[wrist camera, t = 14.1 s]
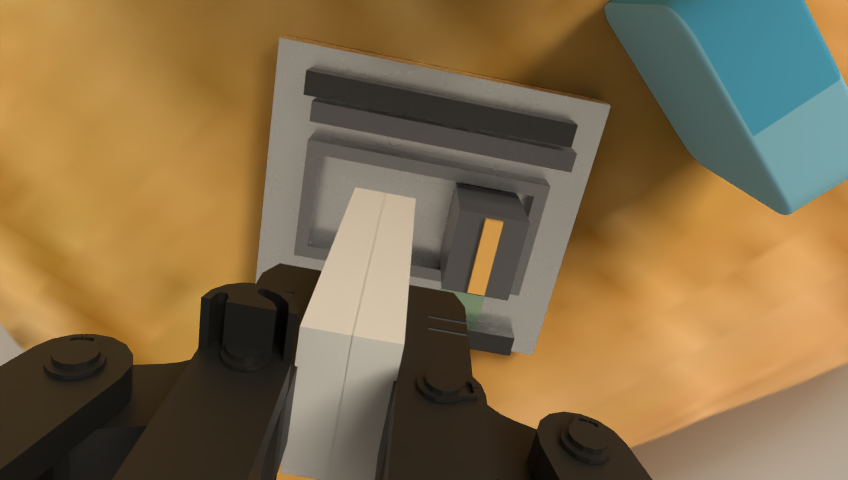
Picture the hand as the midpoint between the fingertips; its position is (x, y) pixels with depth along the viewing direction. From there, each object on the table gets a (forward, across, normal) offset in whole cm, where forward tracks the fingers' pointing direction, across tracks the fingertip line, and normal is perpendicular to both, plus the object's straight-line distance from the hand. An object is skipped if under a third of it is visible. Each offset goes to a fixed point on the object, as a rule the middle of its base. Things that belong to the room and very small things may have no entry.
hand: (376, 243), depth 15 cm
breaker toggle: (+22, +6, -7) cm, 24 cm away
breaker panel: (+24, +2, -7) cm, 25 cm away
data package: (+25, +16, +5) cm, 30 cm away
